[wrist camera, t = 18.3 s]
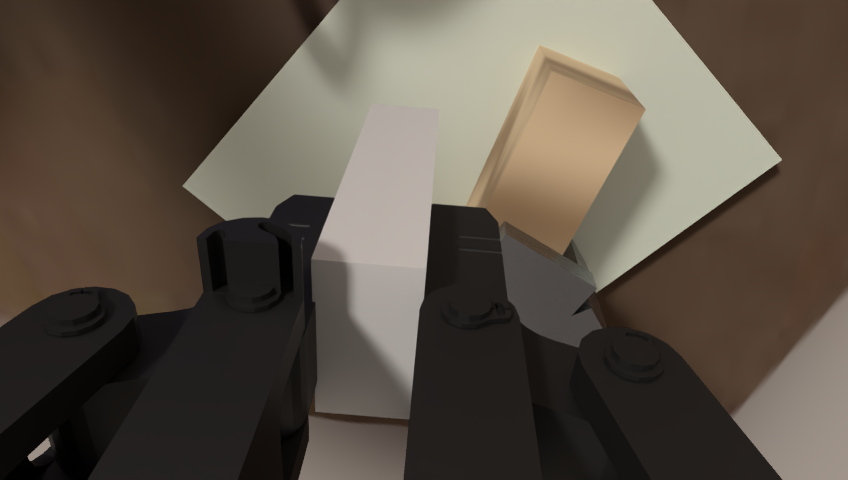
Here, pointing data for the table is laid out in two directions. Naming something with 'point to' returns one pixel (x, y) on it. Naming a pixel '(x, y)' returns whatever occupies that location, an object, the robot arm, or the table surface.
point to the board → (493, 112)
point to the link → (556, 147)
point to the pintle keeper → (550, 287)
